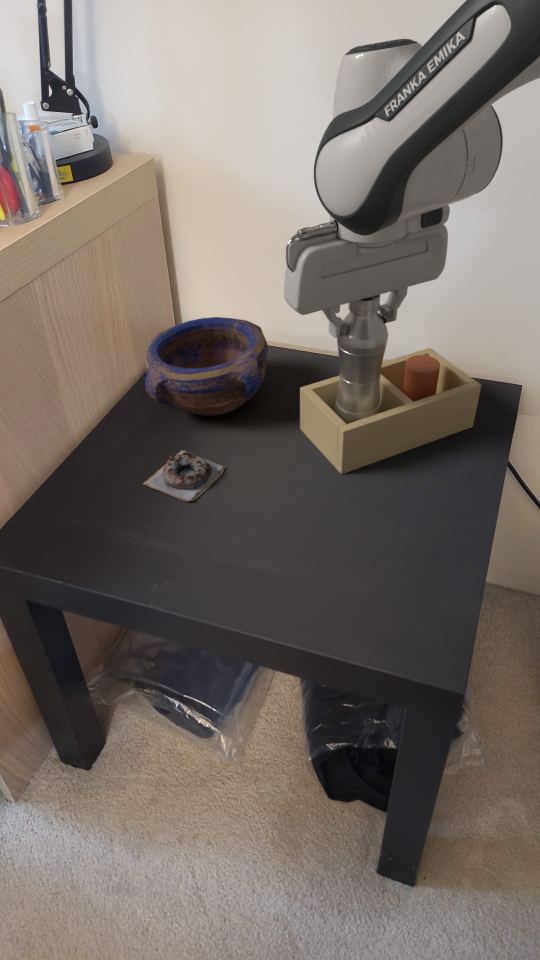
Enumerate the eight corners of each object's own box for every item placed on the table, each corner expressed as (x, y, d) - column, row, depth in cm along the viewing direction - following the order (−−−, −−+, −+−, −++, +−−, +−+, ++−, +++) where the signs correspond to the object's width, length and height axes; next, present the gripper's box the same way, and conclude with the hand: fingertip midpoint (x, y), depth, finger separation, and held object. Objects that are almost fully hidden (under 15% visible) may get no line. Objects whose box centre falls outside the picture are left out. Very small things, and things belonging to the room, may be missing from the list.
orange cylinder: (439, 415, 97) (447, 366, 92) (412, 425, 96) (419, 376, 90) (420, 399, 100) (426, 351, 95) (394, 408, 99) (399, 360, 93)
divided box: (473, 426, 96) (481, 384, 92) (341, 474, 89) (343, 431, 85) (424, 387, 104) (430, 347, 100) (299, 428, 97) (299, 387, 93)
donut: (190, 505, 86) (188, 493, 85) (143, 484, 89) (140, 472, 88) (228, 468, 91) (227, 456, 90) (182, 450, 94) (180, 438, 93)
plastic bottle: (384, 419, 96) (397, 284, 83) (374, 448, 91) (386, 310, 78) (340, 412, 97) (345, 278, 84) (327, 439, 93) (331, 303, 79)
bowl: (160, 367, 111) (152, 310, 104) (271, 366, 110) (269, 309, 104) (141, 434, 97) (129, 374, 91) (267, 434, 97) (264, 373, 90)
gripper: (300, 242, 69) (300, 361, 78) (462, 204, 76) (445, 318, 85) (272, 222, 74) (275, 337, 83) (428, 188, 80) (415, 298, 89)
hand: (363, 327), depth 84 cm, fingers closed on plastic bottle, 6 cm apart
